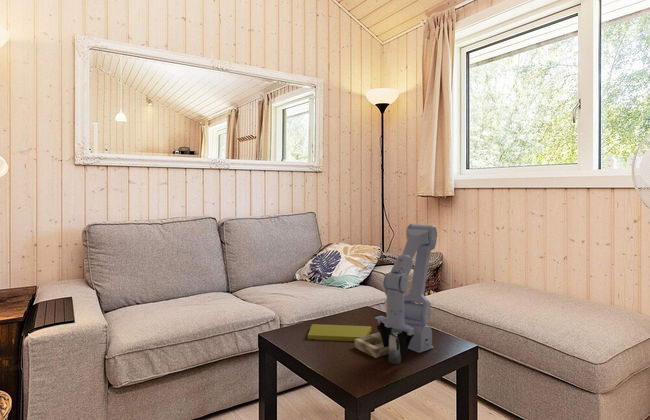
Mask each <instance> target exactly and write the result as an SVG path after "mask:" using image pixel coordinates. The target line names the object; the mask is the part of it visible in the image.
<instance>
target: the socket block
mask: <svg viewBox="0 0 650 420" xmlns="http://www.w3.org/2000/svg"><path fill="white" fill-rule="evenodd" d="M354 348H355V349H358V351H361V352H363V353H364V354H367V355H369V356H371V357H373V358H374V359H377V358H380V357H383V356H386V355H389V346H388V347H384V345H383V341H382V337H381V335H380V332H379V331H378V332H376V333H372V334H369V335H368V336H364V337H361V338H357V339H355V341H354Z"/></svg>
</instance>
